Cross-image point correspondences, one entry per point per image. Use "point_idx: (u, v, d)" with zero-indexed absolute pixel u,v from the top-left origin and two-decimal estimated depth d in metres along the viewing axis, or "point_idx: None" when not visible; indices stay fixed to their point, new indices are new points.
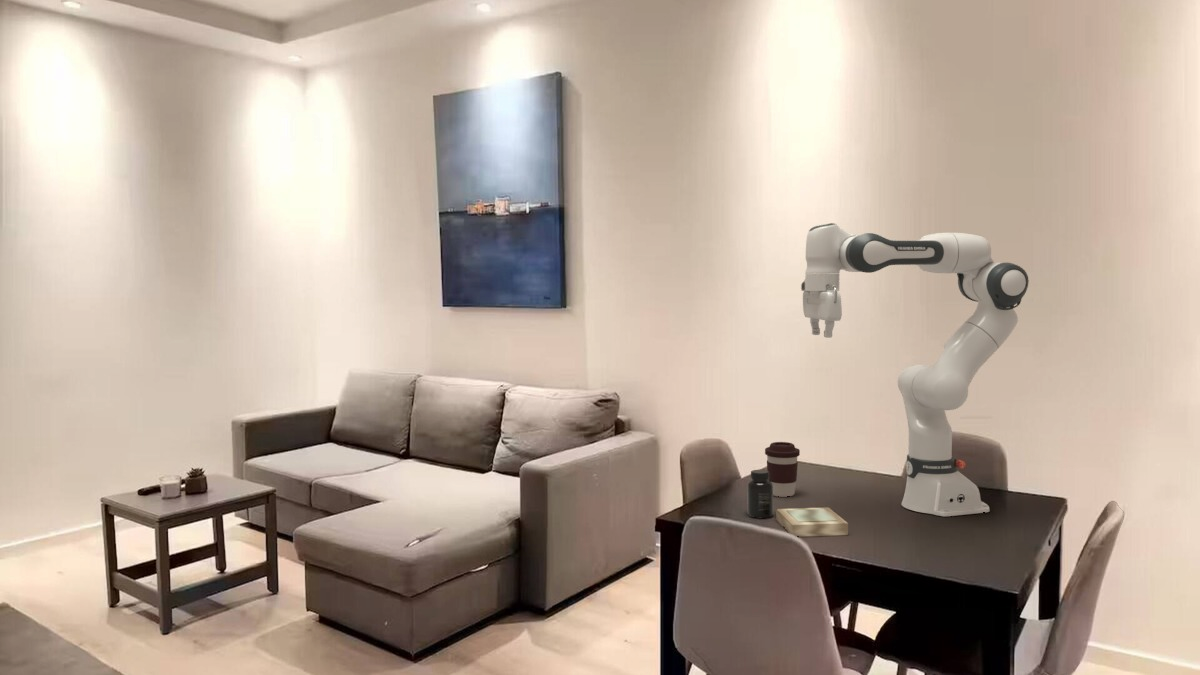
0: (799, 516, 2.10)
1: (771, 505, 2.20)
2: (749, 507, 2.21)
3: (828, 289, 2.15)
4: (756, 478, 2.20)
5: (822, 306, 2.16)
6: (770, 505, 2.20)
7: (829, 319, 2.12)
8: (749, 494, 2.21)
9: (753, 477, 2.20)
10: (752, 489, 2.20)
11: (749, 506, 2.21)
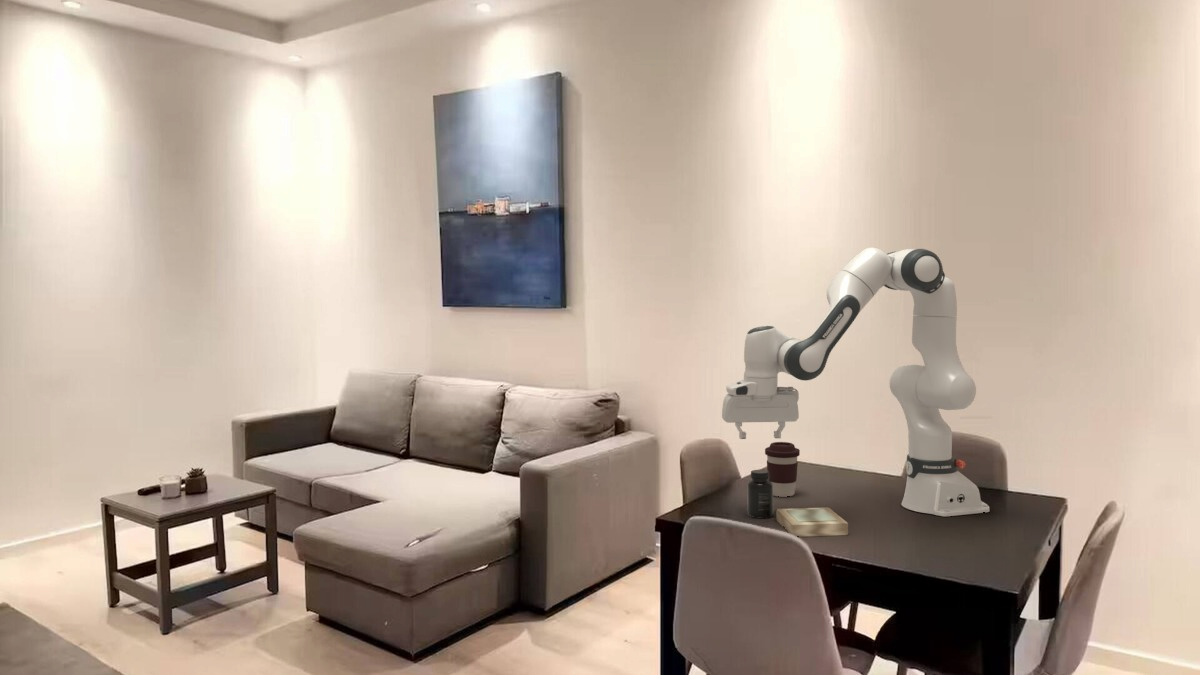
0: (799, 516, 2.10)
1: (771, 505, 2.20)
2: (749, 507, 2.21)
3: (782, 391, 2.20)
4: (756, 478, 2.20)
5: (781, 408, 2.19)
6: (770, 505, 2.20)
7: (796, 420, 2.20)
8: (749, 494, 2.21)
9: (753, 477, 2.20)
10: (752, 489, 2.20)
11: (749, 506, 2.21)
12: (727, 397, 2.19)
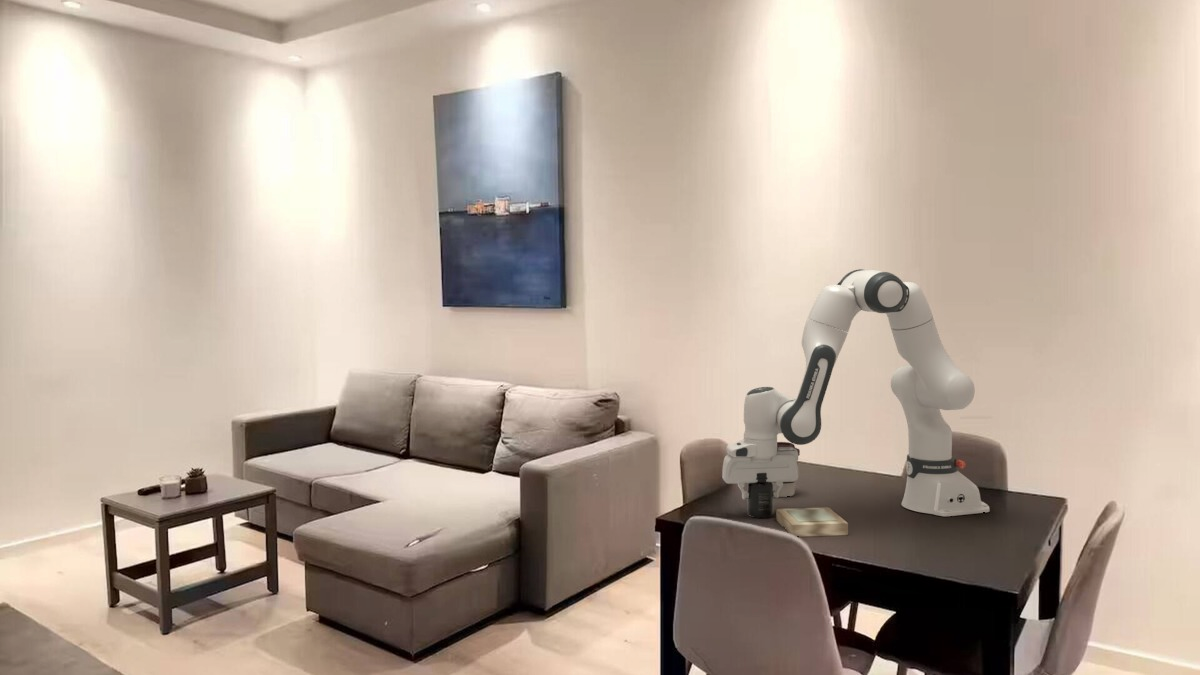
0: (799, 516, 2.10)
1: (771, 505, 2.20)
2: (749, 507, 2.21)
3: (782, 451, 2.21)
4: (756, 478, 2.20)
5: (781, 469, 2.20)
6: (770, 505, 2.20)
7: None
8: (749, 494, 2.21)
9: None
10: (752, 488, 2.20)
11: (749, 506, 2.21)
12: (727, 458, 2.20)
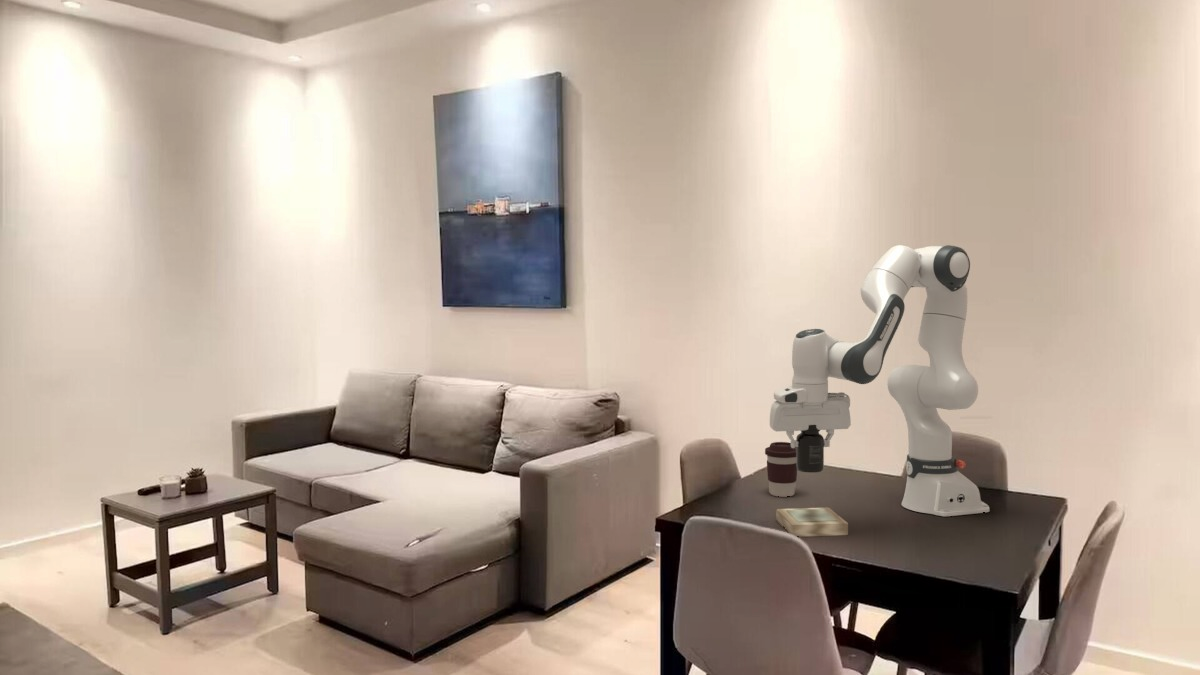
0: (799, 516, 2.10)
1: (822, 459, 2.08)
2: (799, 461, 2.09)
3: (833, 397, 2.09)
4: (807, 430, 2.08)
5: (833, 415, 2.08)
6: (822, 459, 2.08)
7: (848, 427, 2.09)
8: (799, 447, 2.09)
9: None
10: (802, 441, 2.08)
11: (799, 460, 2.09)
12: (775, 405, 2.08)
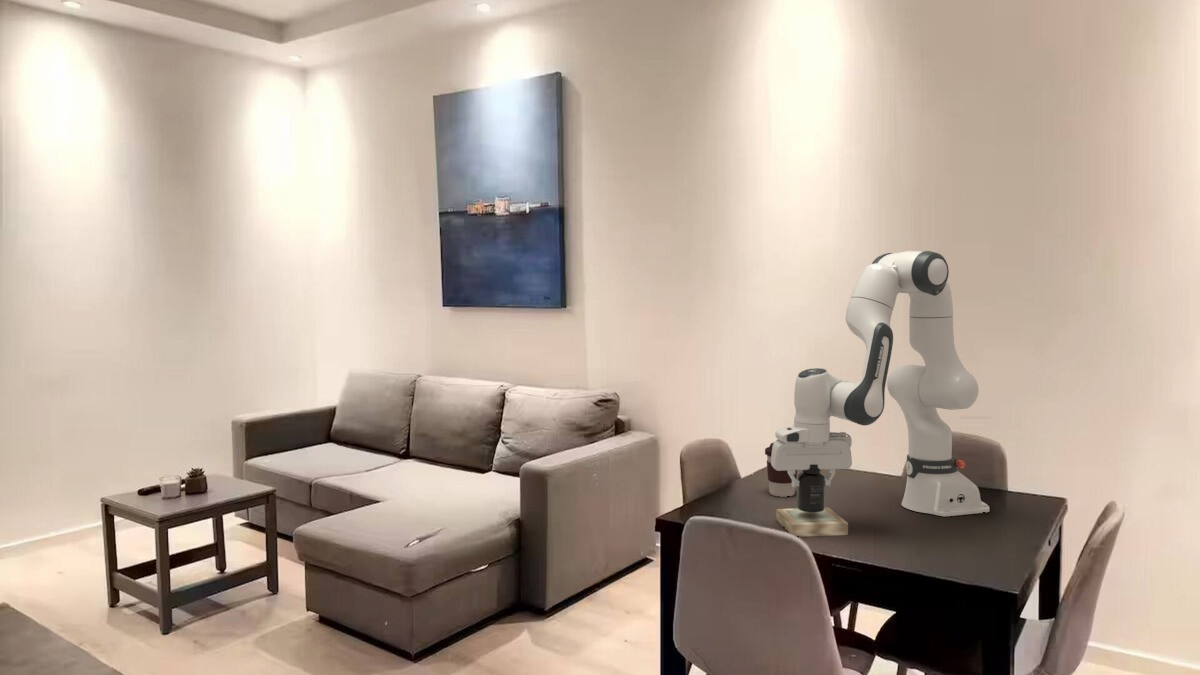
0: (799, 516, 2.10)
1: (823, 498, 2.08)
2: (800, 500, 2.09)
3: (834, 437, 2.09)
4: (808, 469, 2.08)
5: (834, 455, 2.08)
6: (822, 499, 2.08)
7: (849, 467, 2.09)
8: (800, 486, 2.09)
9: None
10: (804, 481, 2.08)
11: (800, 499, 2.09)
12: (777, 444, 2.08)
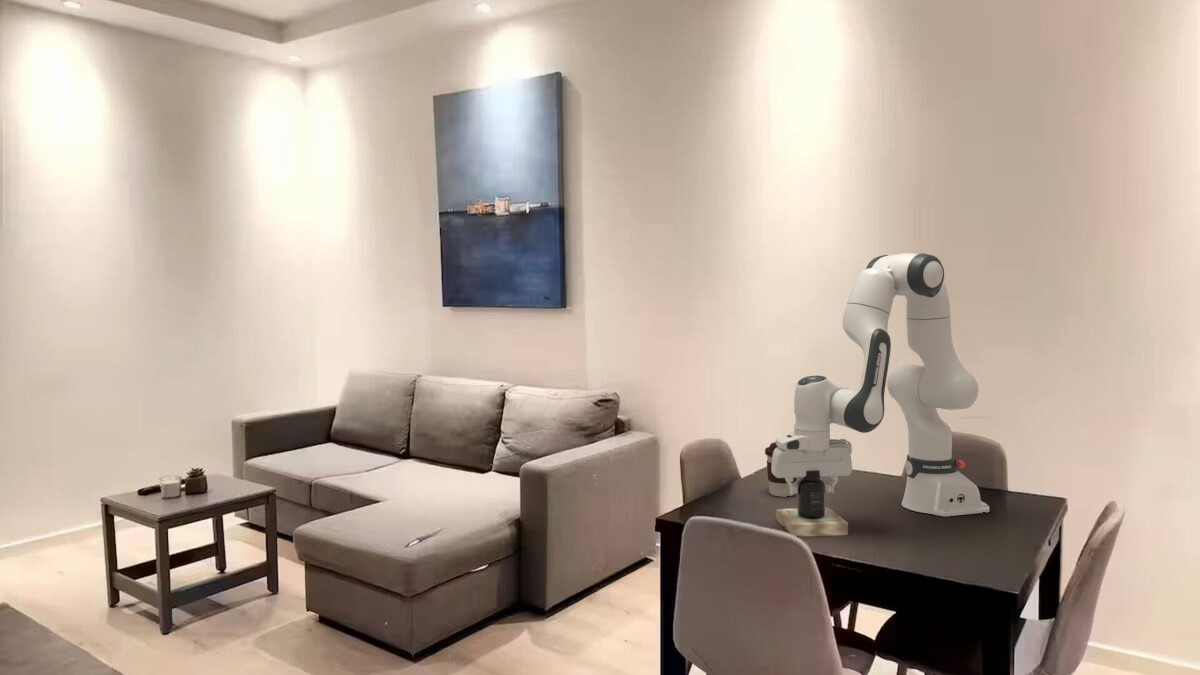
0: (799, 516, 2.10)
1: (823, 505, 2.08)
2: (800, 507, 2.09)
3: (834, 444, 2.10)
4: (808, 476, 2.08)
5: (834, 462, 2.09)
6: (823, 505, 2.08)
7: None
8: (800, 493, 2.09)
9: None
10: (803, 487, 2.08)
11: (800, 506, 2.09)
12: (777, 451, 2.09)
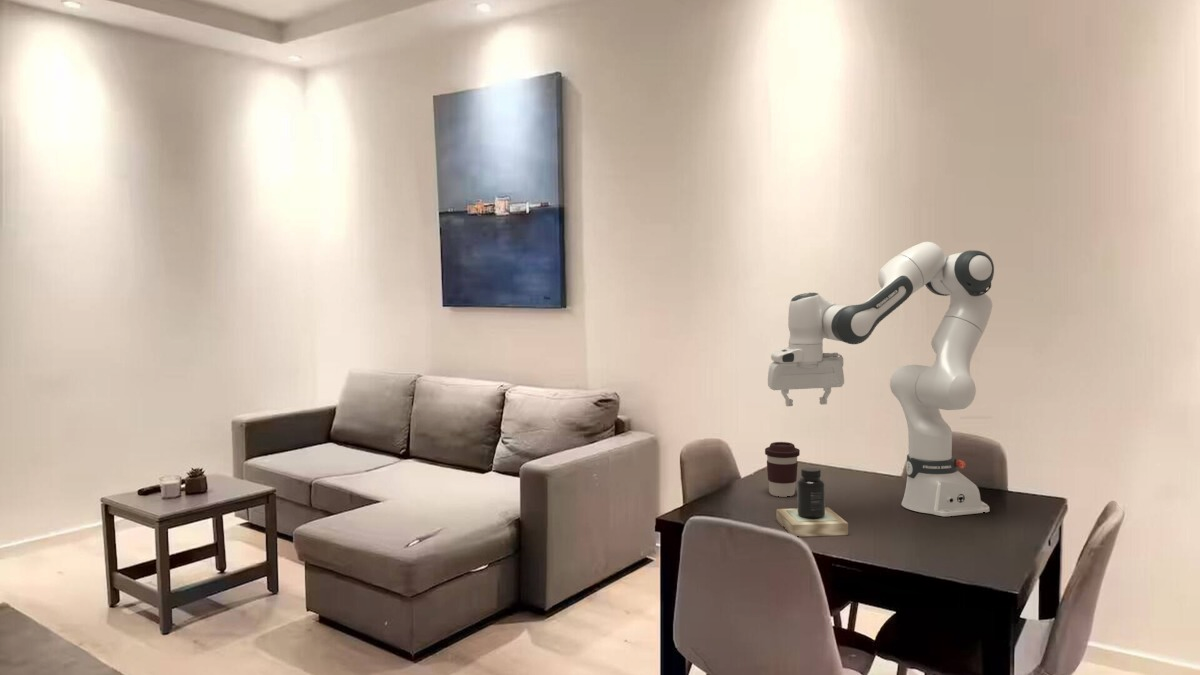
0: (799, 516, 2.10)
1: (823, 505, 2.08)
2: (800, 507, 2.09)
3: (827, 357, 2.21)
4: (808, 476, 2.08)
5: (827, 374, 2.20)
6: (823, 505, 2.08)
7: (842, 385, 2.21)
8: (800, 493, 2.09)
9: (804, 475, 2.09)
10: (803, 487, 2.08)
11: (800, 506, 2.09)
12: (773, 365, 2.19)
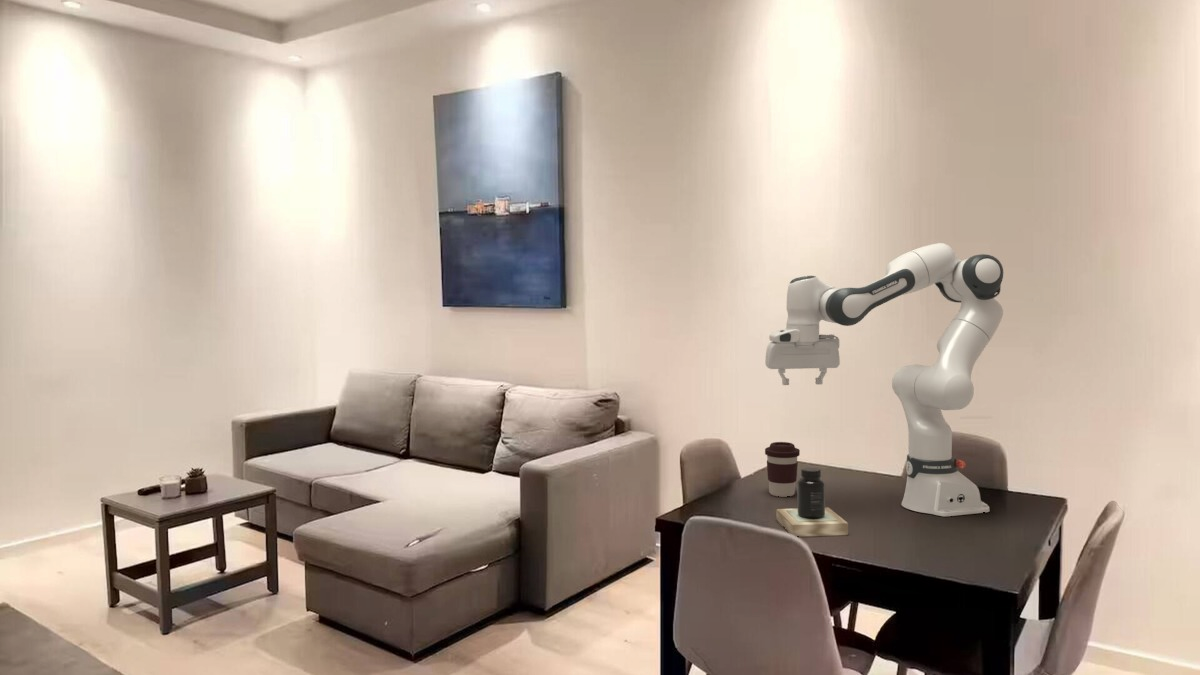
0: (799, 516, 2.10)
1: (823, 505, 2.08)
2: (800, 507, 2.09)
3: (823, 338, 2.28)
4: (808, 476, 2.08)
5: (823, 355, 2.27)
6: (823, 505, 2.08)
7: (837, 366, 2.28)
8: (800, 493, 2.09)
9: (804, 475, 2.09)
10: (803, 487, 2.08)
11: (800, 506, 2.09)
12: (771, 344, 2.27)
